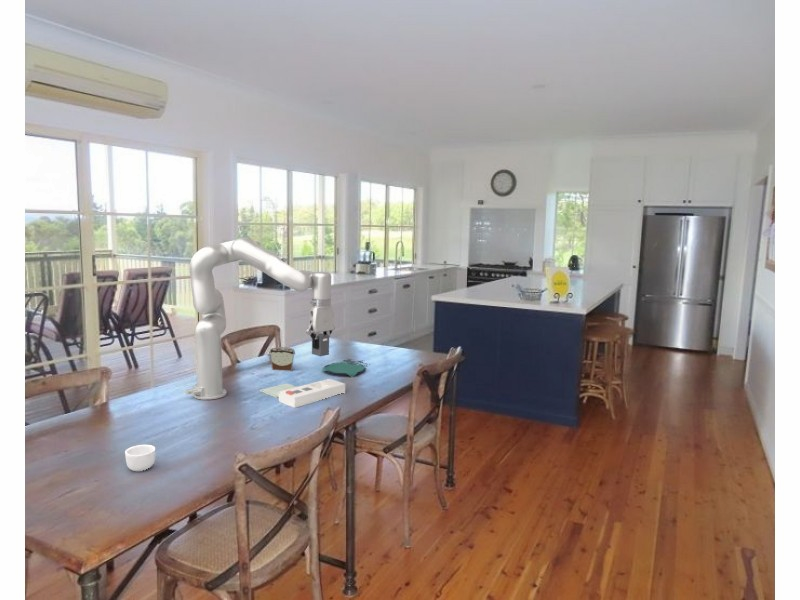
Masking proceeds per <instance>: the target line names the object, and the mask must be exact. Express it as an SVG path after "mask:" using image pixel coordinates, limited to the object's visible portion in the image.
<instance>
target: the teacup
mask: <svg viewBox="0 0 800 600" xmlns="http://www.w3.org/2000/svg"><path fill="white" fill-rule="evenodd" d="M124 455H125V462H126V466H127V467H128V469H129V470H131V471H133V472H144V471H146V469H147V470H149V469H150V468H152V467H153V465H154V463H155V460H156V446H154V445H151V444H138V445H134V446H131V447H128V448H126V449H125V451H124ZM148 468H149V469H148ZM143 470H144V471H143Z"/></svg>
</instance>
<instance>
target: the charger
mask: <svg viewBox="0 0 800 600" xmlns="http://www.w3.org/2000/svg"><path fill="white" fill-rule="evenodd" d="M318 339H319V349H314V348H313V347H312V346H311V354H312V355H315V356H317V357H324V356H329V355H330V337H329V335H326V334H323V332H319V334H318Z"/></svg>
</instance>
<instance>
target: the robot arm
mask: <svg viewBox="0 0 800 600" xmlns="http://www.w3.org/2000/svg"><path fill="white" fill-rule="evenodd" d="M238 261H241V262H243V263H244V264H247V265H249V266H251V267H254V269H257V270H259V271H260V272H262V273H264V274H266V275H267V276H268V277H271V278H272V279H274V280H276V281H277V282H278V283H280V284H282V285H284V286H286V287H288V288H290V289H292V290H293V291H296V292H305V291H307V290H308V289H311V300H310V302H309V304H310V305H311V306H310V308H309V314H308V327H307V329H306V330H305V333H306V334H307V335H309V336H310V339H311V348H312V347H313V348H314V349H319V339H318V334H319V333H322V334H326V335H329V338H330V337H331V334H332V332H333V331H334V330H335V329H336V327H335V316H334V314H335V313H334V307H333V305H331V303H332V302H331V301H332V274H331V272H328V271H311V270H303V269H301V270H298V269H297V268H295V267H293V266H291V265H289V264H288V263H286V262H285V261H284V260H282V259H281V258H280V256H278V254H276V253H275V252H272V251H271V250H269V249H266V248H265V247H263V246H261V245H260V244H257V243H256V241H254V239H252V238H250V237H248V236H247V237H246V236H243V237H238V238H236V239H233V240H229V241H224V242H221V243H216V244H210V245H206V246H204V247H202V248H200V249H198V250H197V251H196V252H195V253H194V254H193V255H192V257H191V260H190V263H189V277H190V287H191V293H192V294H191V295H192V302H193V303H192V304H193V308H194V309H195V311H196V312H197V313H199V314H200V316H201V318H200V320H199V321H198V322H196V325H195V327H194V330H193V331H194V335H193V337H194V342H195V351H196V352H195V355H196V384H194V386H193V387H192V388H188V389H185V391H184V392H185V395H186V396H187V395H191V394H192V396H193V398H195V399H197V400H204V401H205V400H207V401H208V400H216V399H217V400H218V399H221V398H223V397H225V396H226V395H227V389H225V388H223V351H222V350H223V349H222V340H221V335H223V333H224V332H225V331H226V328H227V319H226V311H225V309H226V308H225V303H224V297H223V294H222V293H221V291H220V290H218V289H217V288H216V287H215V278H214V275H213V269H214V268H216V267H219V266H223V265H226V264H230V263H234V262H238Z"/></svg>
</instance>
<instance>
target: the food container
mask: <svg viewBox="0 0 800 600" xmlns="http://www.w3.org/2000/svg"><path fill="white" fill-rule="evenodd" d="M269 354H270V363H271V370H273V371H282V372H285V371H286V372H292V371H293V365H294V358H295V357H294V356H295V355H296V351H295V349H294V348H293V347H287V346H277V347H273V348H270V349H269Z"/></svg>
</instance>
